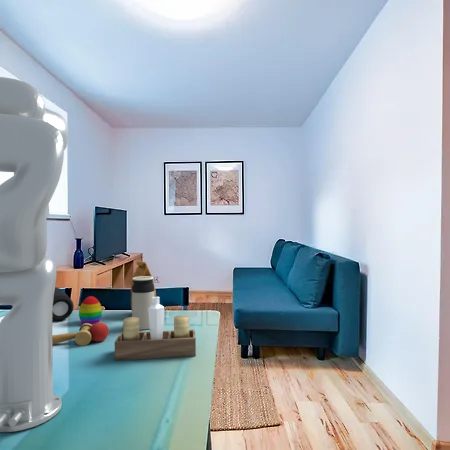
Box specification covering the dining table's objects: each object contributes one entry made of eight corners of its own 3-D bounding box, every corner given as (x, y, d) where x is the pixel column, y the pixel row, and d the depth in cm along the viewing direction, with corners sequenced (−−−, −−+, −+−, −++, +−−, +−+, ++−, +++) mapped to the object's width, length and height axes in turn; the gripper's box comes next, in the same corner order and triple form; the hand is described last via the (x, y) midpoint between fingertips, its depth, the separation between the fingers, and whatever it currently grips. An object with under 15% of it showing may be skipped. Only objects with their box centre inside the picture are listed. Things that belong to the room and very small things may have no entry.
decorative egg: (74, 324, 128) (73, 298, 128) (89, 318, 136) (88, 293, 136) (92, 326, 125) (91, 299, 125) (106, 320, 133) (106, 294, 133)
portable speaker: (74, 320, 134) (74, 295, 134) (46, 324, 129) (46, 298, 129) (65, 307, 156) (65, 285, 156) (40, 310, 150) (40, 287, 150)
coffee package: (133, 320, 133) (132, 263, 133) (129, 312, 144) (128, 260, 144) (158, 317, 137) (158, 262, 137) (153, 310, 148) (152, 259, 148)
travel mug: (156, 328, 122) (156, 278, 122) (133, 331, 119) (133, 280, 119) (152, 322, 129) (152, 275, 129) (131, 325, 126) (130, 276, 126)
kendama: (45, 354, 102) (108, 341, 106) (43, 333, 103) (105, 320, 107) (52, 350, 109) (111, 337, 114) (50, 330, 110) (108, 318, 114)
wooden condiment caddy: (195, 355, 96) (195, 320, 96) (114, 360, 94) (114, 324, 94) (195, 345, 104) (194, 313, 104) (120, 349, 102) (120, 316, 101)
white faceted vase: (148, 352, 96) (148, 299, 96) (148, 347, 100) (147, 296, 100) (165, 351, 97) (164, 298, 97) (164, 345, 101) (163, 295, 101)
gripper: (31, 170, 80) (32, 242, 80) (58, 179, 97) (59, 239, 97) (-4, 169, 79) (-3, 243, 79) (30, 179, 96) (31, 239, 96)
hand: (31, 241), depth 88 cm, fingers open, 9 cm apart
